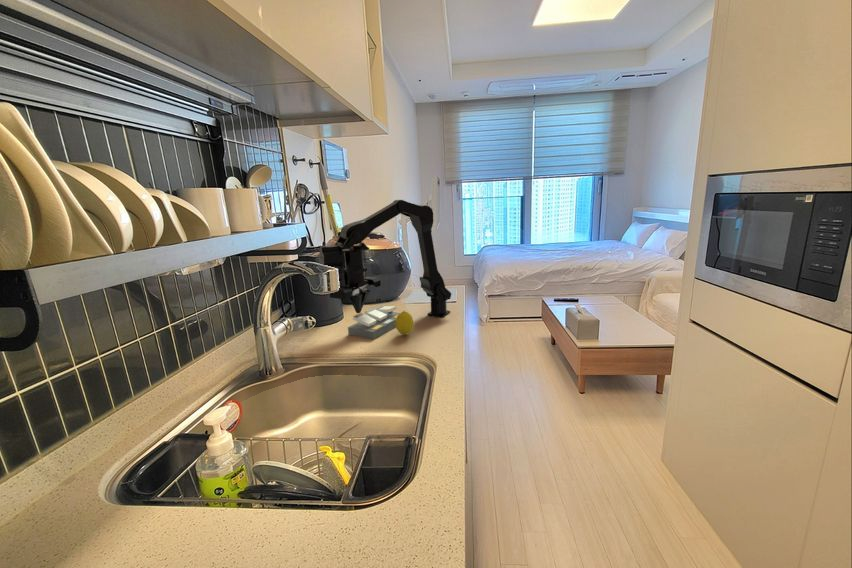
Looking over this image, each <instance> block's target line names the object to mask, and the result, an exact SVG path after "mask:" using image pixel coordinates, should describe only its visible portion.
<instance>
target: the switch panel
mask: <svg viewBox="0 0 852 568" xmlns="http://www.w3.org/2000/svg"><path fill="white" fill-rule="evenodd" d="M382 313H385V314H387V317H386V318H385V319H383V320H381V321H379V320H377V319H375V320H376V323H375V324H373V325H371V326H369V327H368V326H366V325H364V324H361V323H359V322H356V323H353V324H352V325H350V326H348V327H347V331H348V333H347V334H348V336H354V337H358V338H362V339H369V340H375V339H378V338H379V337H381V336H383V335H384V334H386V333H387V332H389V331H392V330H394V329H395V328H396V318H397V316H398V314H400V313H401V312H395V311H394V310H393V311H391V312H382ZM371 318H372V317H371ZM373 319H374V318H373Z"/></svg>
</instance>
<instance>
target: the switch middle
mask: <svg viewBox="0 0 852 568" xmlns="http://www.w3.org/2000/svg"><path fill="white" fill-rule="evenodd" d="M375 309H376V308H373V307H371V308H368V309H367V310H365V311H364V312H363V314H364V315H366V316H369V317H372V318H374V319H377V320H379V321H381V320H383V319H385V318H386V317H387V314H385V313H382V312H380V311H378V310H375Z"/></svg>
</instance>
